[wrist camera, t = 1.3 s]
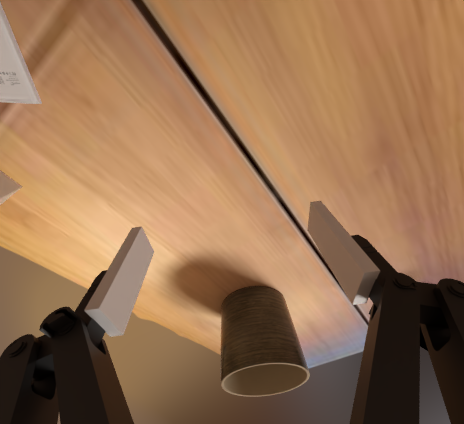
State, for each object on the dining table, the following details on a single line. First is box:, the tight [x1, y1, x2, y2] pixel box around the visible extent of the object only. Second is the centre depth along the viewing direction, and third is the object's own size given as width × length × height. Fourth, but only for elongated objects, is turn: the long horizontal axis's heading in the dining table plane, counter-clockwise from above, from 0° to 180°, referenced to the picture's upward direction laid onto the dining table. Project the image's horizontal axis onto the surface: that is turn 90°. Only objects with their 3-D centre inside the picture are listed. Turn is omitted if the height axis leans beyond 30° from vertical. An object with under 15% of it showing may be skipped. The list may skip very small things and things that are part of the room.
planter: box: [221, 286, 310, 396], centre depth 58 cm, size 22×22×20 cm
